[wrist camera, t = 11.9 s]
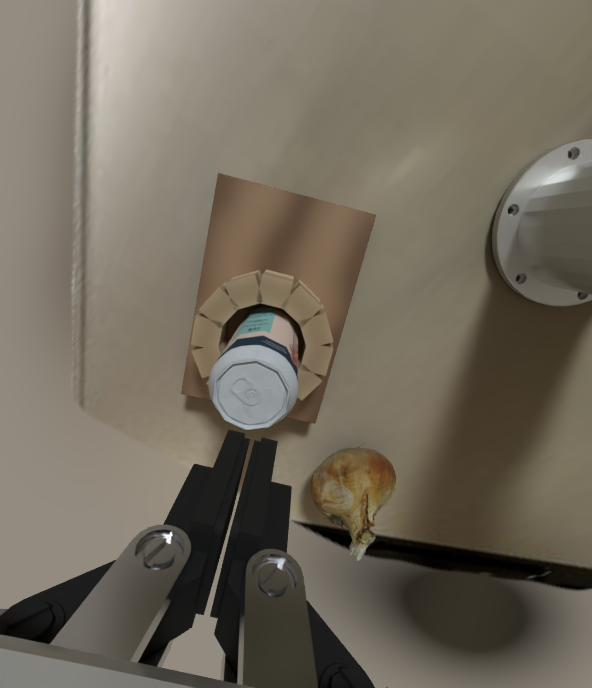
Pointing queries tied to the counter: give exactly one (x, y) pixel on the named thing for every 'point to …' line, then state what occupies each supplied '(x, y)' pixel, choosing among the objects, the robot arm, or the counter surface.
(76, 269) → the counter surface
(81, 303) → the counter surface
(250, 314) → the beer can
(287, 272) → the board
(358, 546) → the onion
